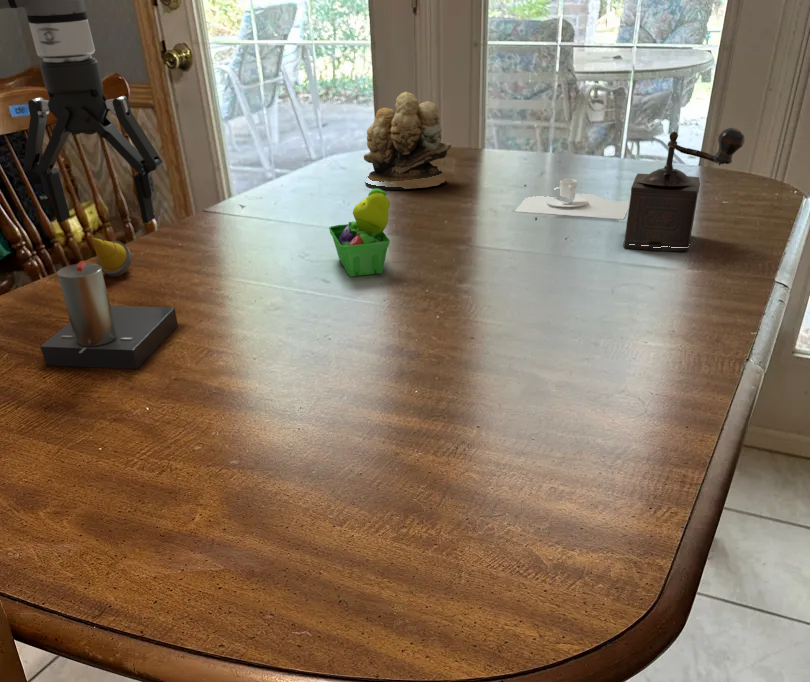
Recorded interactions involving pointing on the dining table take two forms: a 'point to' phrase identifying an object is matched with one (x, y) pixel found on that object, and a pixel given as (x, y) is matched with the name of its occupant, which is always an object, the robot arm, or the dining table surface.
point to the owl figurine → (405, 142)
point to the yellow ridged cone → (112, 256)
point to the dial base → (128, 351)
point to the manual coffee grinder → (671, 198)
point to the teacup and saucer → (575, 204)
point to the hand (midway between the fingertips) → (106, 220)
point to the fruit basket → (364, 236)
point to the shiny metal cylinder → (87, 303)
